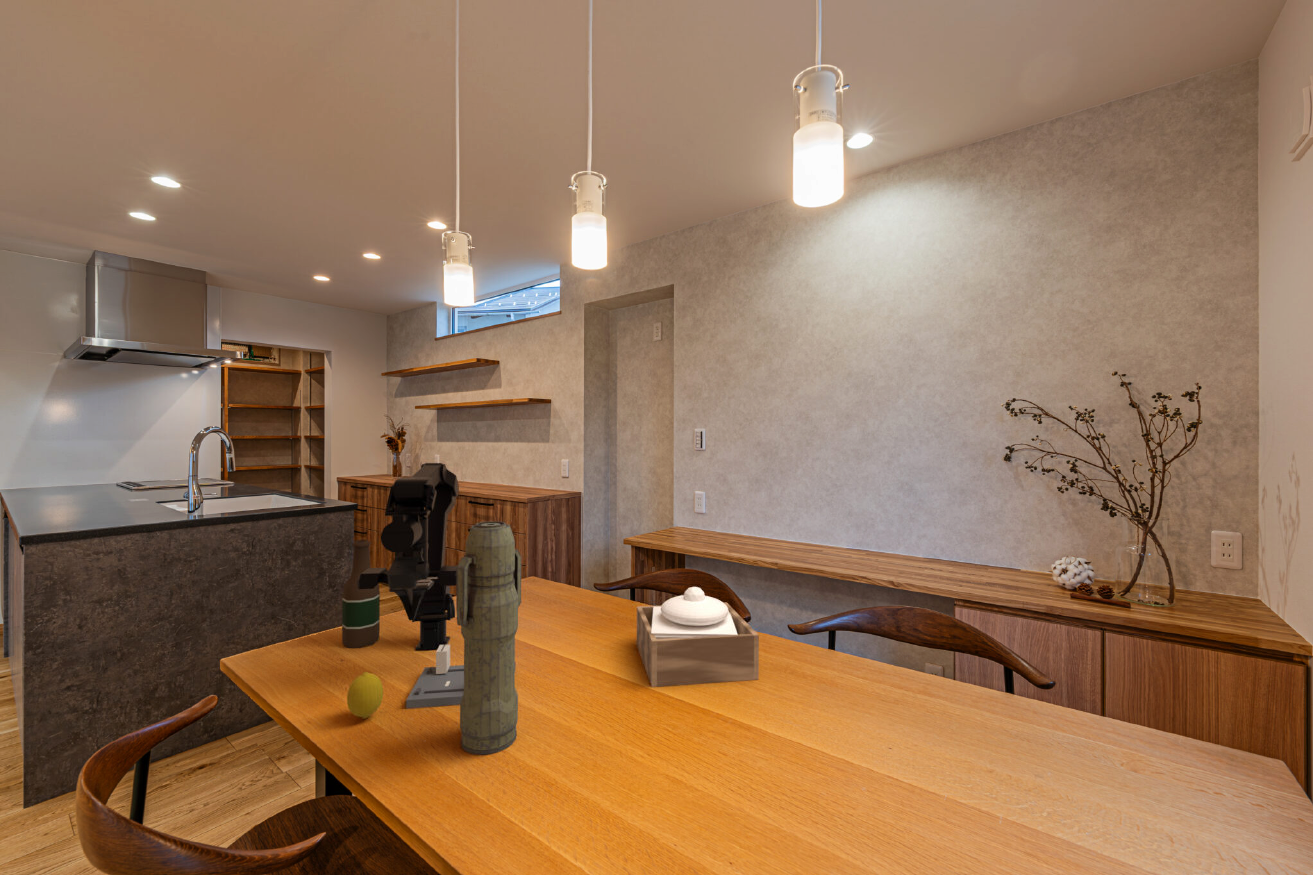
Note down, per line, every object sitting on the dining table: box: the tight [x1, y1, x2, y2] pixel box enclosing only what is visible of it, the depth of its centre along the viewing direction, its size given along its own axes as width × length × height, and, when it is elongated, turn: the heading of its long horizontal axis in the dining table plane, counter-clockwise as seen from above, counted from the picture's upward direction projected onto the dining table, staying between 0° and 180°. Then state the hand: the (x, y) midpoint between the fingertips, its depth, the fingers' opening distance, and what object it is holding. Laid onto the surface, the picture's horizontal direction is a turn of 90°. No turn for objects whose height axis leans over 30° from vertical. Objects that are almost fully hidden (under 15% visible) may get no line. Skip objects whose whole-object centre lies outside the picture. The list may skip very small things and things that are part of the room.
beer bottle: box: [341, 539, 381, 649], centre depth 129 cm, size 8×8×24 cm
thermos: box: [455, 520, 522, 756], centre depth 89 cm, size 9×12×35 cm
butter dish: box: [651, 586, 738, 639], centre depth 121 cm, size 18×18×16 cm
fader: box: [435, 643, 451, 674], centre depth 111 cm, size 4×2×4 cm, turn 10°
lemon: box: [346, 671, 384, 720], centre depth 95 cm, size 6×6×8 cm
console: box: [405, 661, 517, 709], centre depth 107 cm, size 14×18×2 cm
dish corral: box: [636, 602, 760, 688], centre depth 121 cm, size 22×22×9 cm
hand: (411, 619), depth 110 cm, fingers closed
